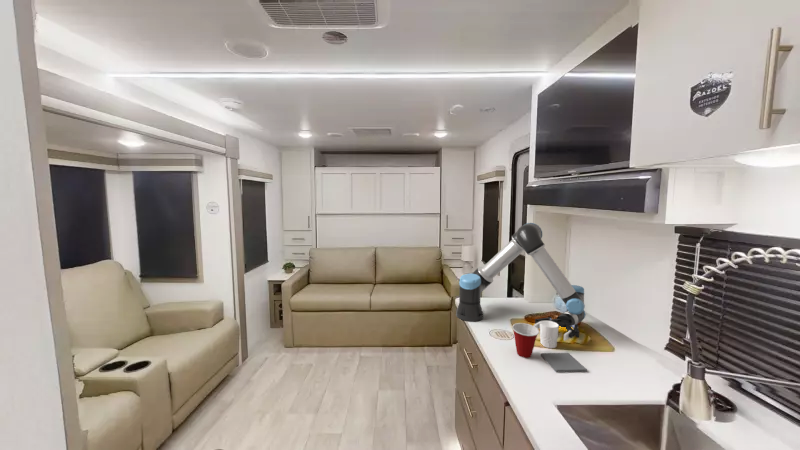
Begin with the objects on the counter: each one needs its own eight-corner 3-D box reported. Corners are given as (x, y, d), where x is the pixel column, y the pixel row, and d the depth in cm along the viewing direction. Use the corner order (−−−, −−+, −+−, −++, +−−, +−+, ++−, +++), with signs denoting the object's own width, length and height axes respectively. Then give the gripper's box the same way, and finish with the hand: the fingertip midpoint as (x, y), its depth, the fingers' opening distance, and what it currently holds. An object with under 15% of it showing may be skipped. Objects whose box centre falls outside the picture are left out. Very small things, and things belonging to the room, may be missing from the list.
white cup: (547, 350, 139) (548, 328, 138) (535, 342, 147) (535, 321, 146) (561, 347, 141) (562, 326, 140) (549, 340, 149) (549, 319, 148)
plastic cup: (520, 362, 128) (521, 334, 127) (506, 350, 139) (507, 324, 138) (543, 360, 130) (544, 332, 129) (528, 347, 141) (529, 322, 140)
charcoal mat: (540, 355, 134) (540, 353, 134) (568, 355, 134) (568, 352, 134) (556, 372, 121) (556, 369, 121) (586, 371, 122) (587, 369, 121)
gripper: (542, 306, 166) (523, 316, 152) (595, 320, 148) (579, 333, 134) (542, 320, 167) (522, 331, 153) (594, 335, 148) (578, 350, 134)
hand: (548, 332), depth 143 cm, fingers open, 13 cm apart
